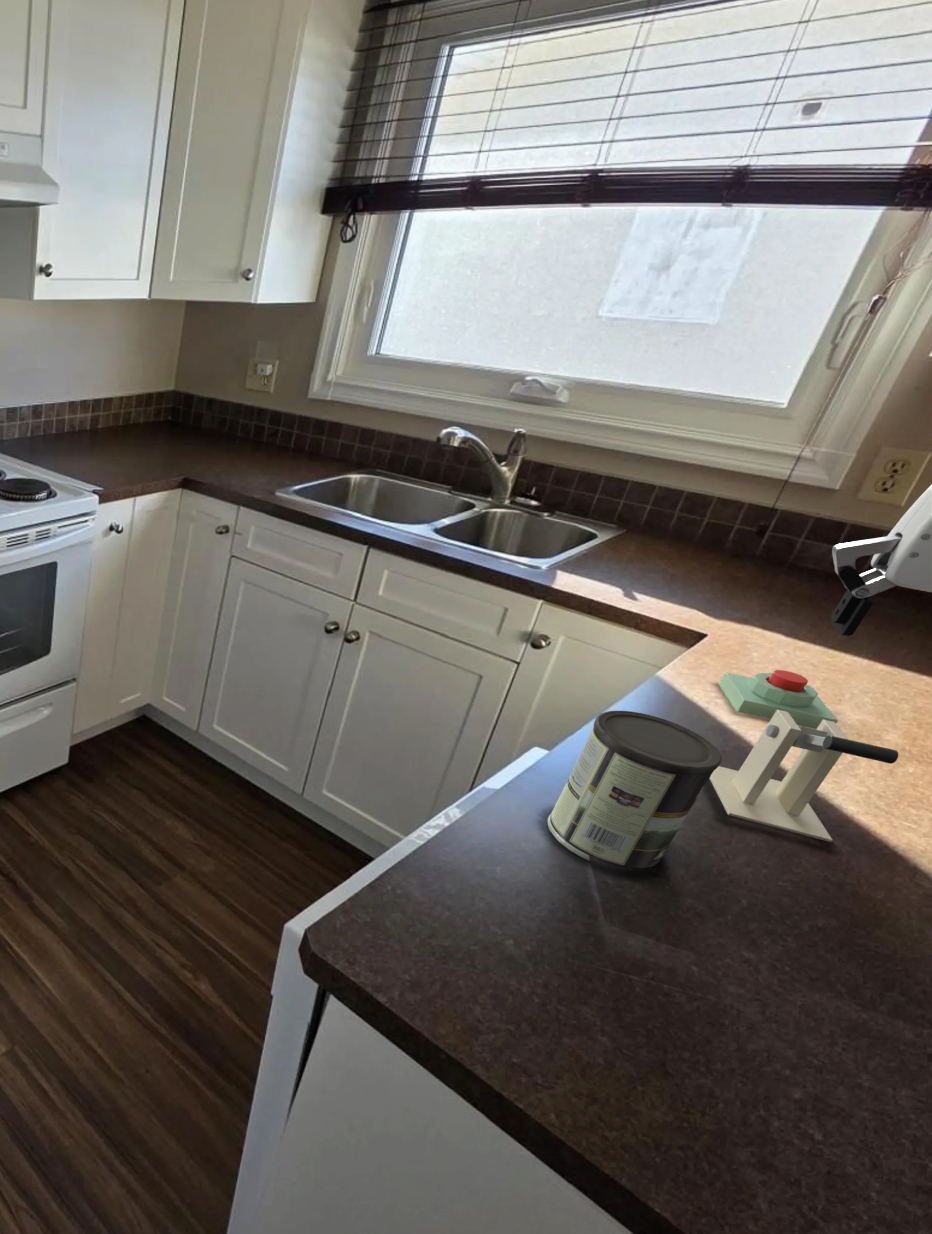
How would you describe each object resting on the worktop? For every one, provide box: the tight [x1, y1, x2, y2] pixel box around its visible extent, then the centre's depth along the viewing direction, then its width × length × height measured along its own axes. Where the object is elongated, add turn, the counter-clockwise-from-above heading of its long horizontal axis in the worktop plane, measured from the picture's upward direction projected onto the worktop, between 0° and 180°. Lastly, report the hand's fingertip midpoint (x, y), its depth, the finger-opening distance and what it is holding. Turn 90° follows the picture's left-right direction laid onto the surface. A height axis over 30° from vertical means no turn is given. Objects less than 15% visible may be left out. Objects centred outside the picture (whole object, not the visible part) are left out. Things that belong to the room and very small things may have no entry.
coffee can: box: [547, 710, 723, 869], centre depth 83 cm, size 10×10×14 cm
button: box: [768, 669, 809, 692], centre depth 110 cm, size 4×4×2 cm
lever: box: [792, 725, 899, 765], centre depth 83 cm, size 12×5×2 cm, turn 153°
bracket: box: [709, 710, 850, 843], centre depth 89 cm, size 11×9×12 cm
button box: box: [718, 672, 839, 729], centre depth 111 cm, size 10×9×4 cm
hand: (907, 643), depth 77 cm, fingers open, 9 cm apart
